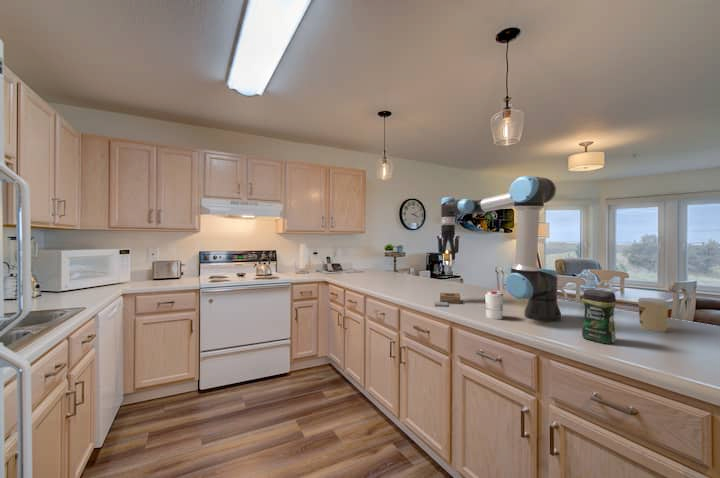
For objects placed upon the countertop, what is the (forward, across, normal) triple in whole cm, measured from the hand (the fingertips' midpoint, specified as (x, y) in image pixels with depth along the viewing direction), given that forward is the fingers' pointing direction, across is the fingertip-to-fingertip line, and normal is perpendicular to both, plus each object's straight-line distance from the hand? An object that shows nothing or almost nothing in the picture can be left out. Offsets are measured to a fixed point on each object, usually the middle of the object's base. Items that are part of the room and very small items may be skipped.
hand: (448, 265), depth 182 cm
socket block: (+22, 0, +2) cm, 22 cm away
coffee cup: (+22, +86, +11) cm, 90 cm away
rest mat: (+22, +1, -9) cm, 23 cm away
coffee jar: (+22, +73, -20) cm, 78 cm away
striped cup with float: (+22, +32, -15) cm, 42 cm away
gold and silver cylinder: (+6, 0, 0) cm, 6 cm away
